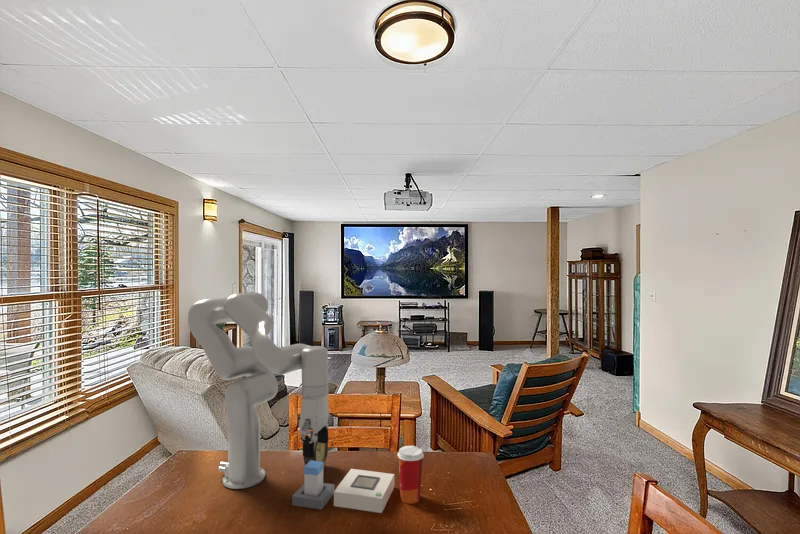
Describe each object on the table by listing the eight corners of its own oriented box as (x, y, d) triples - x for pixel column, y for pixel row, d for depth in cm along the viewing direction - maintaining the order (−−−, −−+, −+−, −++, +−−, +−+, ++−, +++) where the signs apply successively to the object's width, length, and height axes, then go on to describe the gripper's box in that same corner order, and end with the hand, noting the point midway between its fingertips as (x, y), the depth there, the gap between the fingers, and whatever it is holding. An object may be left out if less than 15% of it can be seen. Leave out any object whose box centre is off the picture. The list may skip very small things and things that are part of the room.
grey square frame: (292, 505, 119) (292, 496, 119) (306, 488, 128) (306, 480, 128) (321, 509, 117) (321, 500, 117) (334, 492, 125) (334, 484, 125)
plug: (303, 501, 121) (304, 466, 121) (310, 494, 125) (310, 460, 125) (317, 503, 120) (317, 468, 120) (323, 496, 124) (323, 461, 124)
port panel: (333, 505, 119) (333, 489, 119) (350, 481, 132) (351, 467, 132) (381, 513, 115) (381, 496, 115) (394, 487, 129) (394, 472, 129)
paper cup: (410, 488, 128) (410, 442, 128) (429, 498, 123) (429, 450, 123) (391, 498, 123) (391, 450, 123) (410, 509, 117) (410, 458, 117)
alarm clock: (316, 479, 133) (316, 427, 133) (300, 477, 135) (300, 426, 135) (328, 463, 144) (329, 416, 144) (313, 462, 145) (314, 414, 145)
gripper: (315, 381, 131) (316, 437, 131) (288, 398, 115) (289, 461, 114) (338, 382, 130) (339, 438, 129) (314, 399, 113) (315, 464, 113)
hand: (316, 449), depth 122 cm, fingers open, 9 cm apart
